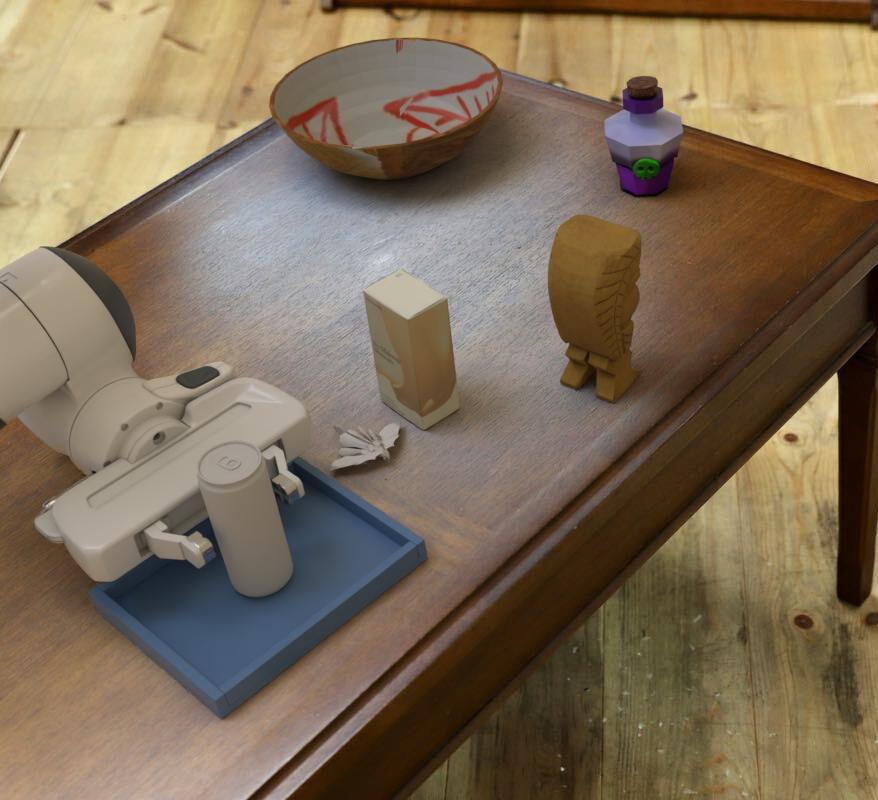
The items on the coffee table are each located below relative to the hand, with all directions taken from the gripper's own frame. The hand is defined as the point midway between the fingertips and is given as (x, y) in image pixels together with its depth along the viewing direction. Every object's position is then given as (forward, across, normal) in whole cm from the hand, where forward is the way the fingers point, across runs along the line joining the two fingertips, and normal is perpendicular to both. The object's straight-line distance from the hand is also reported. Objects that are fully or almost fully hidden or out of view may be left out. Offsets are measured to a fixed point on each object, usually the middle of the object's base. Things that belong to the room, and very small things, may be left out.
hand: (252, 524), depth 100 cm
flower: (-7, +15, +7) cm, 18 cm away
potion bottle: (-15, +62, +7) cm, 64 cm away
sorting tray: (-1, 0, +7) cm, 7 cm away
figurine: (+3, +34, +7) cm, 35 cm away
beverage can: (-1, 0, +7) cm, 7 cm away
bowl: (-41, +50, +7) cm, 65 cm away
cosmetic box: (-7, +22, +7) cm, 24 cm away
